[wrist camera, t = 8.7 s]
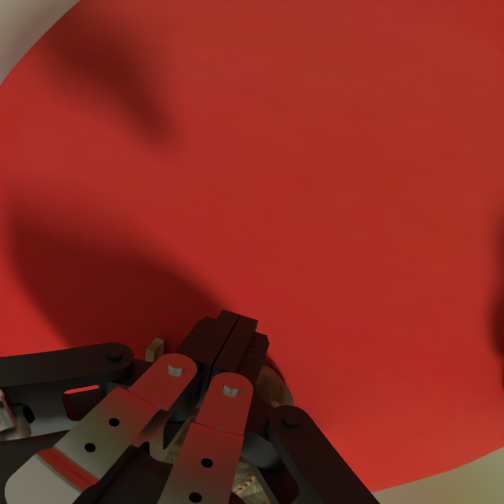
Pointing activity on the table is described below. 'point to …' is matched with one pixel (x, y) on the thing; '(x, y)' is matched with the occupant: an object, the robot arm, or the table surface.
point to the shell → (245, 480)
